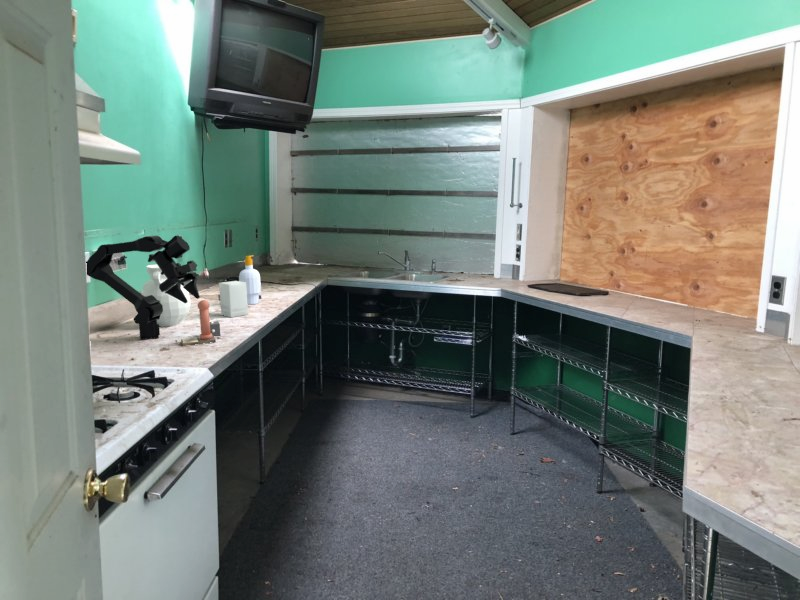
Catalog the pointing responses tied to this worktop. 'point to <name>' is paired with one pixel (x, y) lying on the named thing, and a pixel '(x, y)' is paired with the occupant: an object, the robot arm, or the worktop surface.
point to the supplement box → (233, 298)
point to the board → (196, 341)
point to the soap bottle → (251, 281)
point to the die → (215, 328)
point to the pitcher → (166, 298)
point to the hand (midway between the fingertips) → (192, 300)
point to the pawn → (204, 320)
